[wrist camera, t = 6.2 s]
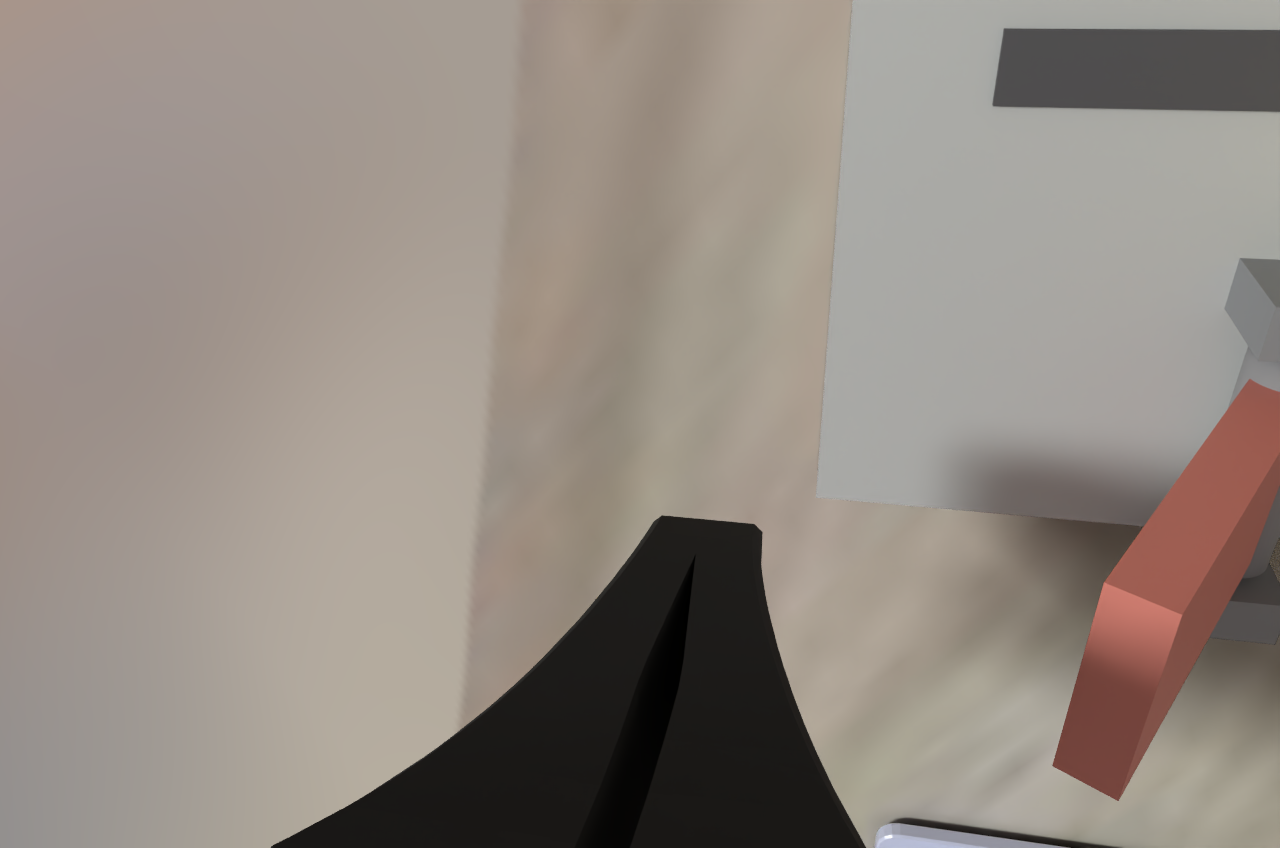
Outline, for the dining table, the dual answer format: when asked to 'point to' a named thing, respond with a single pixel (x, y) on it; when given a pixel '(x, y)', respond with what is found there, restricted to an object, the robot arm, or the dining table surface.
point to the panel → (1051, 255)
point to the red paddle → (1176, 586)
